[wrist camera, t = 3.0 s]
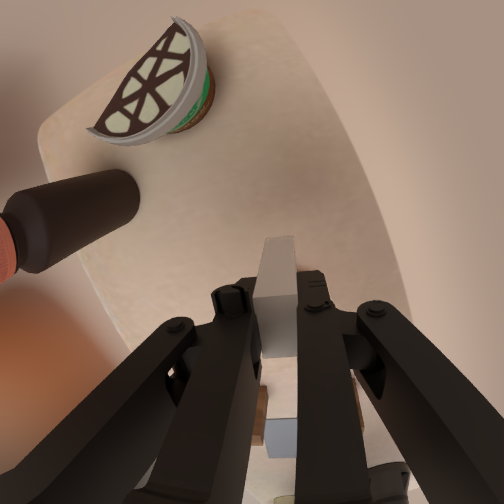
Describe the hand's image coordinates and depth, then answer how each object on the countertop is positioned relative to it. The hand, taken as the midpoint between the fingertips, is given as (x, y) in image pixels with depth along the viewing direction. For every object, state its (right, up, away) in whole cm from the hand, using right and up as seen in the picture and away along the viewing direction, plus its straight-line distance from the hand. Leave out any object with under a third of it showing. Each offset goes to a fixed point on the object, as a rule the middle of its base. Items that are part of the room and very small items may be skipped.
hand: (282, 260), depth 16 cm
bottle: (-18, +7, +15) cm, 24 cm away
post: (-1, -20, +22) cm, 30 cm away
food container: (-8, +16, +11) cm, 21 cm away
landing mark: (+7, -32, +26) cm, 42 cm away
